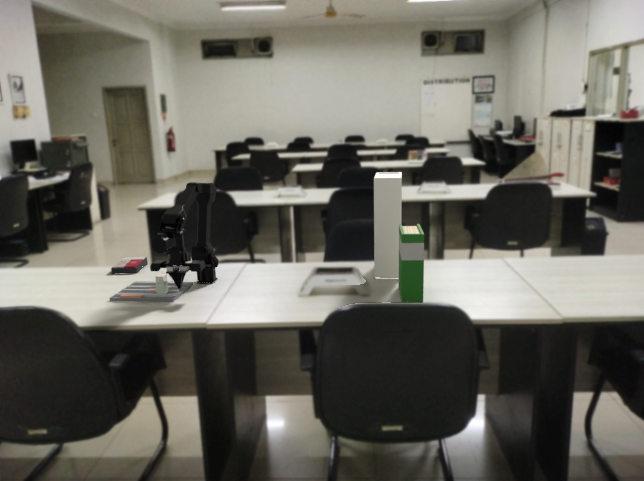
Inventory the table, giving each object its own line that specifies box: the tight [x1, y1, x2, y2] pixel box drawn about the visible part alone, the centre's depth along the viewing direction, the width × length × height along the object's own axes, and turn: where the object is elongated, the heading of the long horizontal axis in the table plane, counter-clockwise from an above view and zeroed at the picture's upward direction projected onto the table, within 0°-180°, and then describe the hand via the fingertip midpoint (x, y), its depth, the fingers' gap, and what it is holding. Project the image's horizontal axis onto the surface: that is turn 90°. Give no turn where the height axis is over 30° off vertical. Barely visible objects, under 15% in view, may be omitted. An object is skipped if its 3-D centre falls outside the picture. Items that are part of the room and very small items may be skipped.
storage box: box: [373, 171, 403, 278], centre depth 214 cm, size 21×10×40 cm, turn 172°
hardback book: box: [398, 223, 425, 303], centre depth 188 cm, size 18×7×24 cm, turn 175°
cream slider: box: [154, 273, 168, 283], centre depth 202 cm, size 3×4×4 cm
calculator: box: [110, 256, 148, 275], centre depth 233 cm, size 11×4×15 cm
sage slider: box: [156, 280, 169, 294], centre depth 193 cm, size 3×4×4 cm
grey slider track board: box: [109, 280, 194, 303], centre depth 199 cm, size 24×20×2 cm
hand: (179, 288), depth 192 cm, fingers closed
